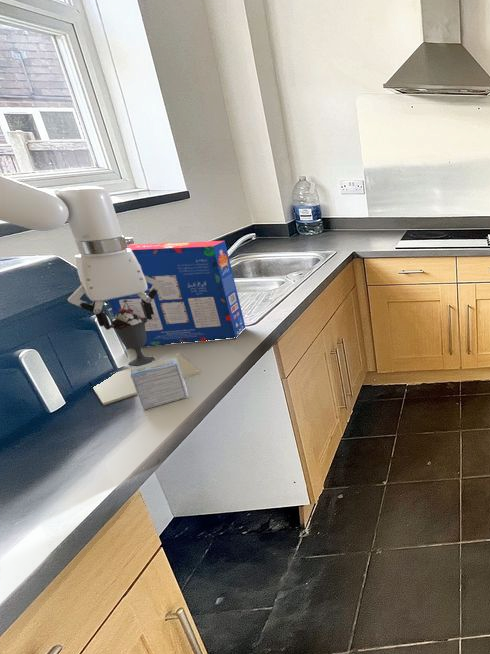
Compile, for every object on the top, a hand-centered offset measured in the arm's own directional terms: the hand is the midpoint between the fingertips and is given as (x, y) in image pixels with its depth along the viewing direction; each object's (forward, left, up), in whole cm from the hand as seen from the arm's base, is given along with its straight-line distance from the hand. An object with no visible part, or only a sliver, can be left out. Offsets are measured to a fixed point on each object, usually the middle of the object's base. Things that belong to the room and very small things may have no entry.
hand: (128, 322), depth 95 cm
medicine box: (0, -14, -15) cm, 21 cm away
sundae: (0, 0, -10) cm, 10 cm away
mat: (0, +2, -15) cm, 15 cm away
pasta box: (+14, +22, -15) cm, 30 cm away
